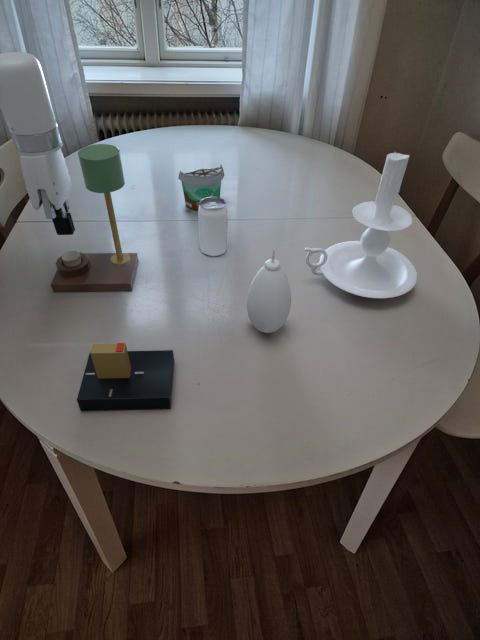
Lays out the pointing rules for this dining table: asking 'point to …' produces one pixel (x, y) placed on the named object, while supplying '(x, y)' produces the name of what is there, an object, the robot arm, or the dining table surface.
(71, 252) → the lamp button
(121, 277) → the lamp base
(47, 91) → the robot arm
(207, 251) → the can
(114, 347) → the yellow upright block
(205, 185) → the food container
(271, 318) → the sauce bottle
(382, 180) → the candlestick
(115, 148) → the lamp
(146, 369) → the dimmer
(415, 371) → the dining table surface
